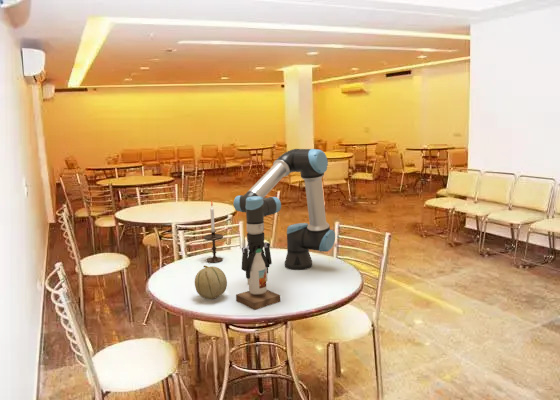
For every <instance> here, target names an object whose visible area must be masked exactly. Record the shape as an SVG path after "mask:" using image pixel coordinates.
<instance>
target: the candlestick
mask: <svg viewBox="0 0 560 400" xmlns="http://www.w3.org/2000/svg"><path fill="white" fill-rule="evenodd" d="M210 203H211V204H210V225H211V226H210V227H211V228H210V229H211V231H209V233H211V234H206V235H204V236H203V240H205V241H212V247H211V250H212V251H211V253H212V255H213V256H212V257H208V258H207V259H206V263H208V264H217V263H222V262H223V261H224V259H223V258H222V257H220V256H217V251H216V250H217V247H216V241H220V240H223V238H224V235H223V234H219V233H217V232H218V231H216V230H215V228H216V227H215V209H214V207H213V205H214V204H213V200H211V201H210Z"/></svg>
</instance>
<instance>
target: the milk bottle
mask: <svg viewBox="0 0 560 400" xmlns="http://www.w3.org/2000/svg"><path fill="white" fill-rule="evenodd" d="M259 252H260V253H259ZM261 253H262V252H261V249H260V248H258V249H257V250H256V254H255V256H254V259H253V263H252V266H251V270H250V271H252V282H253V286H250V285H248V291H249V292H250V293H251V294H263V293H265V292H266V290H268V289H267V282H266V267H265V263H264V260H263V258H262V256H261ZM252 254H253V253H252Z"/></svg>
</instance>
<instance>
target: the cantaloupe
mask: <svg viewBox="0 0 560 400" xmlns="http://www.w3.org/2000/svg"><path fill="white" fill-rule="evenodd" d="M194 287H195V288H194V289H195V290H196V292H197V294H198V295H199V296H200V297H202V298H204V299H208V300H214V299H217V298H218V297H220V296H222V295H224V293H225V291H227V287H228V279H227V277H226V273H224V271H223V269H221V268H219V267H217V266H208V265H204V266H203V268H202V269H200V270H199V271H198V272H197V273H196V275H195V278H194Z"/></svg>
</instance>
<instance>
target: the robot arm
mask: <svg viewBox="0 0 560 400" xmlns="http://www.w3.org/2000/svg"><path fill="white" fill-rule="evenodd" d="M328 163H329V162H328V158H327V155H326V153H325V152H324V151H323V150H321V149H317V148H316V149H315V148H293V149H291V150H288V151H286V152H284V153H283V154H281V155H280V156H279V157H277V158H276V160H274V161H273V164H272V166H271V168H269V169H268V171H266V172H265V173H264V175H262V176H261V177H260V178H259V179H258V181H256V182H255V184H253V185H252V186H251V188H250V189H249V190H247V192H246V193H244V195H242V194H241V195H236V196H235V197H234V200H233V208H234V209H235V211H237V212H240V213H245V214H246V218H245V219H246V232H247V233H246V241H247V246H245V247H241V252H242V257H241V271H244V272H245V278H246V279H247V285H248V286H249V285H250V286H253V282H252V271H250V270H251V266H252V263H253V259H254V256H255V254H256V250H257V249H258V248H260V249H261V252H262V253H261V256H262V258H263V260H264V263H265V267H266V283H267V282H268V274H269V268H270V265H272V264H273V262H272V257H271V256H272V255H271V249H270V248H271V244H270V243H269V242H265V233H264V231H265V219H264V218H265V217H267V216H271V215H275V214H277V213H278V212H280V210H281V209H282V203H281V200H280V199H279V198H278V197H276V196H270V197H266V196H267V195H268V194H269V193H270V192H271V191H272V190H273V188H275V187H276V186H277V184H278V183H279V182H280V181H281V180H282V179H283V178H284V177H288V176H289V174H291V173H300V178H301V179H302V180H303V181H304V188H305V195H306V204H307V205H306V206H307V212H308V221H309V224H308V223H307V222H299V223H294V224H290V225H288V226H287V228H286V243H287V244H286V245H287V246H286V247H287V248H286V249H287V253H286V255H285V260H284V268H286V269H287V270H293V271H302V270H303V271H304V270H308V269H310V268H312V267H313V259H312V257H311V254H310V250H312V251H318V252H321V253H322V252H325V253H326V252H330V250H331V249H332V248H333V247H334V244H335V241H336V232H335V231H334V230H333V229H331V228H330V223H328V222H327V218H326V217H327V215H326V209H325V207H326V206H325V199H324V189H323V181H322V180H323V179H322V178H323V177H324V176H325V173H326V171H327V170H328V165H329V164H328ZM252 253H253V254H252ZM259 253H260V252H259Z"/></svg>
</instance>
